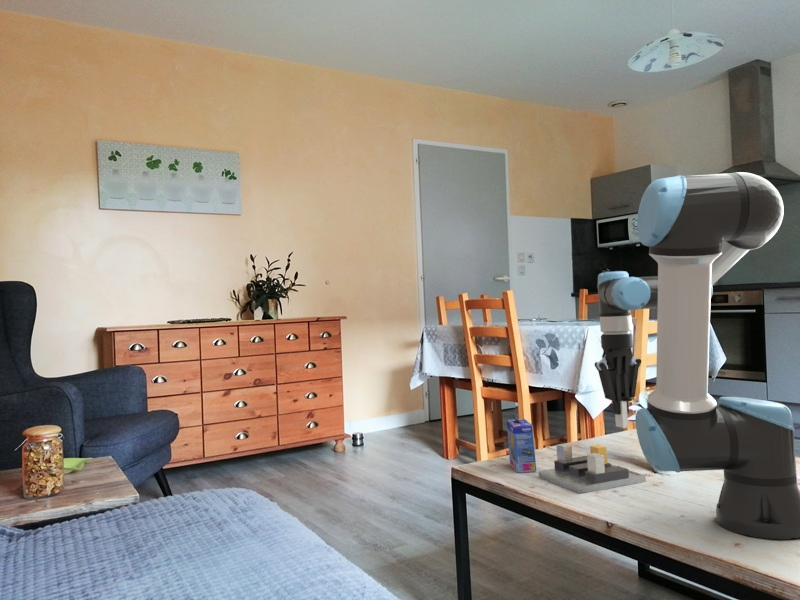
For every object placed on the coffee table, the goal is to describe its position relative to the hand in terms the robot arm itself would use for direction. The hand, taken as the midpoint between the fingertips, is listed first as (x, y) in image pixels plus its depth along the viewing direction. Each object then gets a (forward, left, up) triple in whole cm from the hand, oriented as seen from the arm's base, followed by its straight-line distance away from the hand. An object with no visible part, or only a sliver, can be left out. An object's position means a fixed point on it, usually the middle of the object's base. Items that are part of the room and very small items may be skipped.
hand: (621, 426), depth 149 cm
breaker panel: (0, +11, -12) cm, 16 cm away
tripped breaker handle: (0, +8, -8) cm, 11 cm away
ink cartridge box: (+18, +19, -12) cm, 28 cm away
